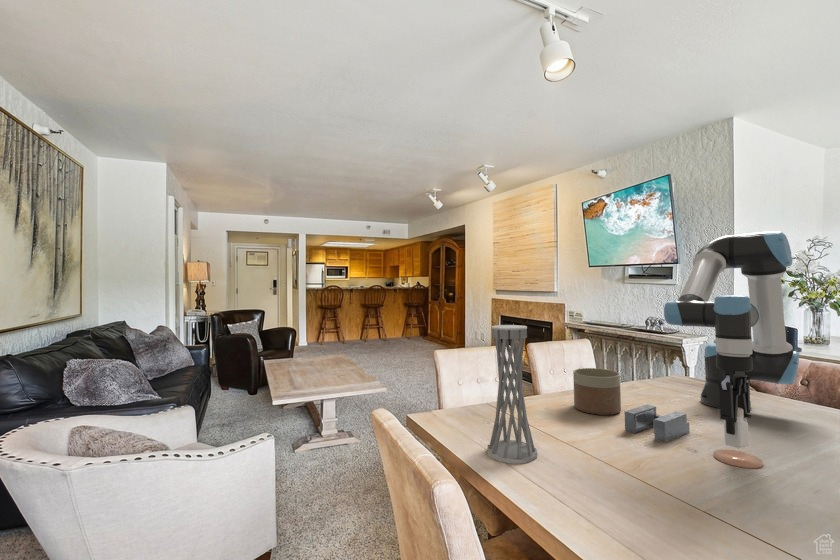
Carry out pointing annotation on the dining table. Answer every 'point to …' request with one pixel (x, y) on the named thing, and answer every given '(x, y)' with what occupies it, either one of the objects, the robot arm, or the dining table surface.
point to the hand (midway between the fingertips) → (736, 443)
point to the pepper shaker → (741, 429)
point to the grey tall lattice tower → (510, 448)
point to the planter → (597, 391)
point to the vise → (656, 423)
